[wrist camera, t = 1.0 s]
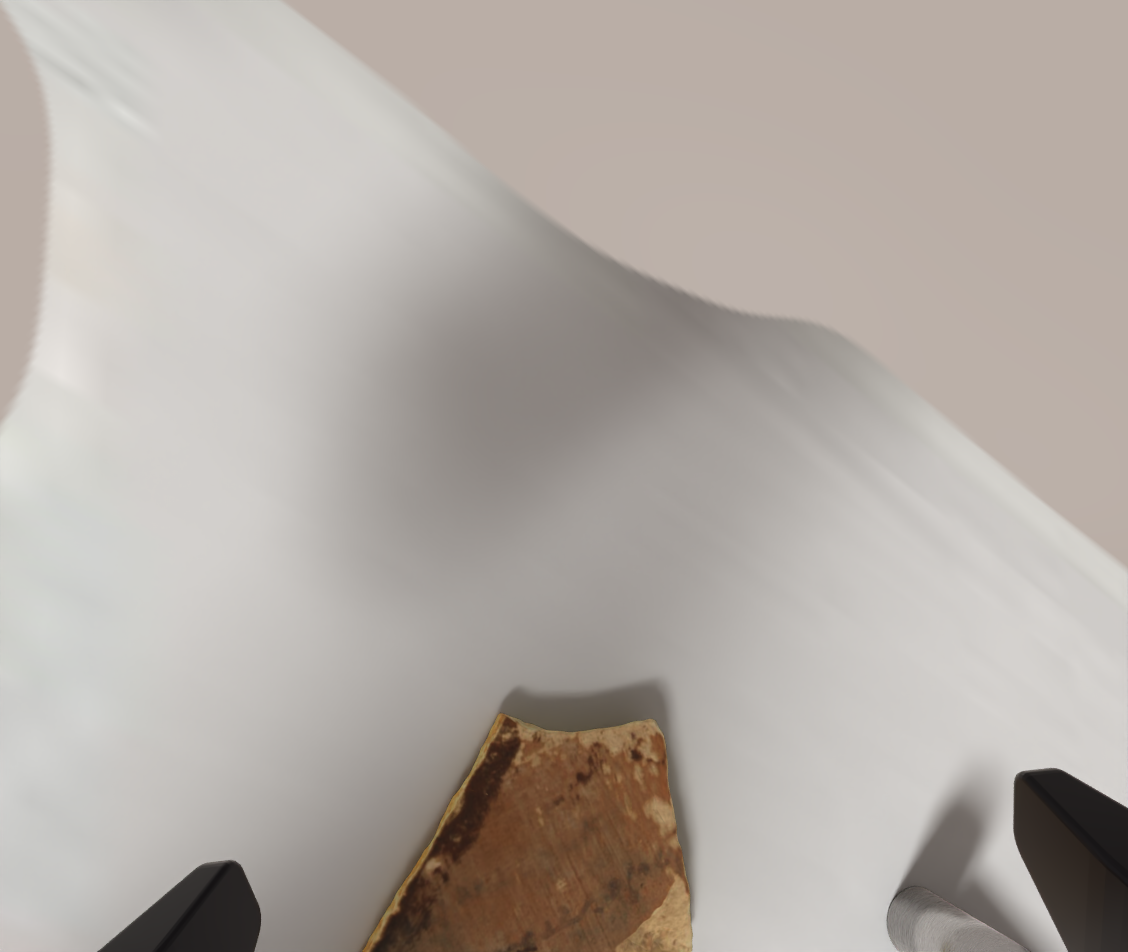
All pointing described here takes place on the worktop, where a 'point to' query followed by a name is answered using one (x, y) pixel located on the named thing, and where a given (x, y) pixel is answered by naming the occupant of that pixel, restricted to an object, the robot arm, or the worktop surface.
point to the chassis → (940, 926)
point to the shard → (551, 851)
